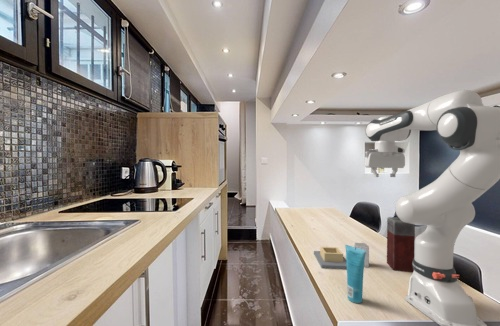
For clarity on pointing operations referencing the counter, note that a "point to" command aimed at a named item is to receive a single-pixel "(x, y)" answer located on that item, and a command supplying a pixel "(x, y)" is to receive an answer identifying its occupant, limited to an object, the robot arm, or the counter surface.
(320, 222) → the counter surface
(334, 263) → the collar stand
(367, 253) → the block
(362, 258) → the tube
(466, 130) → the robot arm
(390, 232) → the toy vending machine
